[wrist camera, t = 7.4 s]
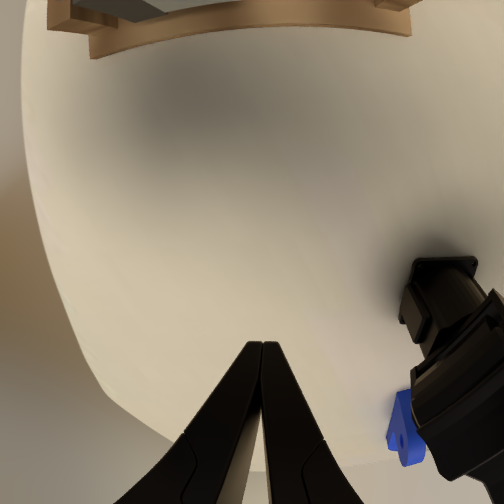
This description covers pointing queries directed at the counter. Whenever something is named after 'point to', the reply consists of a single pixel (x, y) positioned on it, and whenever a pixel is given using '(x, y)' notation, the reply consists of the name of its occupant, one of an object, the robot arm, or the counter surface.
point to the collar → (123, 9)
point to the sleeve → (181, 4)
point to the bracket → (405, 432)
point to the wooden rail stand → (227, 20)
